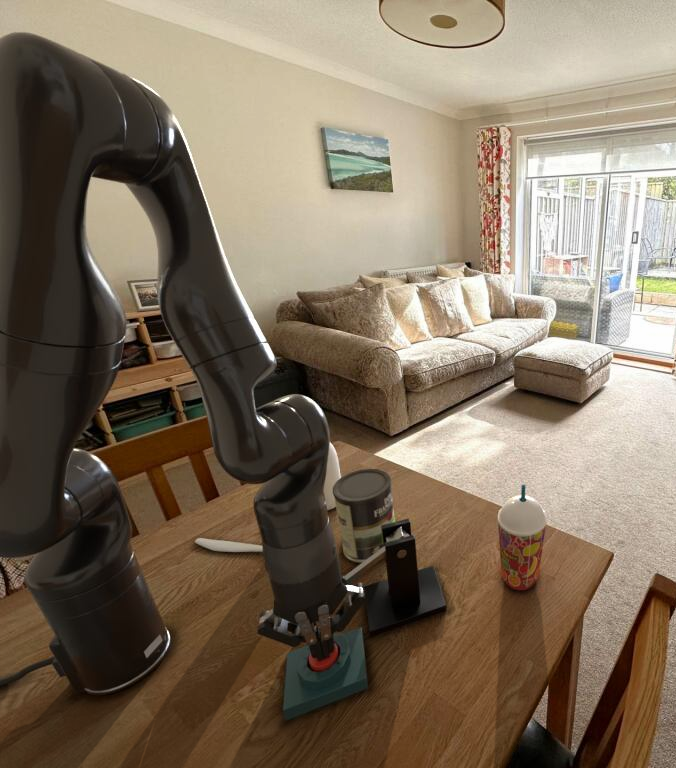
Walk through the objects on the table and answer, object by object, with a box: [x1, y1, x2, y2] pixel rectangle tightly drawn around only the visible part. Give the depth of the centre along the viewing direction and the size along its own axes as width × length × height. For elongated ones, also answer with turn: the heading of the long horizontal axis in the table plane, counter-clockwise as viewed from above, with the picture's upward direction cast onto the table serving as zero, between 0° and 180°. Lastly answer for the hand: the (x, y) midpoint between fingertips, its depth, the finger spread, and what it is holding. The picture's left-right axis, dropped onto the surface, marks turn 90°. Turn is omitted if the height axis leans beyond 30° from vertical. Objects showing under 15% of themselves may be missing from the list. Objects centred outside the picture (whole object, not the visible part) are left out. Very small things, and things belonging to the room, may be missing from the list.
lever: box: [341, 527, 409, 586], centre depth 62 cm, size 14×3×3 cm, turn 113°
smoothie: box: [497, 484, 548, 591], centre depth 69 cm, size 8×8×20 cm
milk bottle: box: [324, 442, 342, 511], centre depth 88 cm, size 8×8×20 cm
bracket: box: [364, 518, 447, 638], centre depth 65 cm, size 12×9×15 cm
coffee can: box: [333, 468, 396, 564], centre depth 77 cm, size 10×10×14 cm
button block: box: [282, 627, 369, 721], centre depth 56 cm, size 10×8×4 cm
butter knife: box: [194, 537, 263, 553], centre depth 77 cm, size 1×27×3 cm
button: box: [309, 644, 339, 672], centre depth 55 cm, size 4×4×2 cm
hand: (324, 653), depth 55 cm, fingers closed
